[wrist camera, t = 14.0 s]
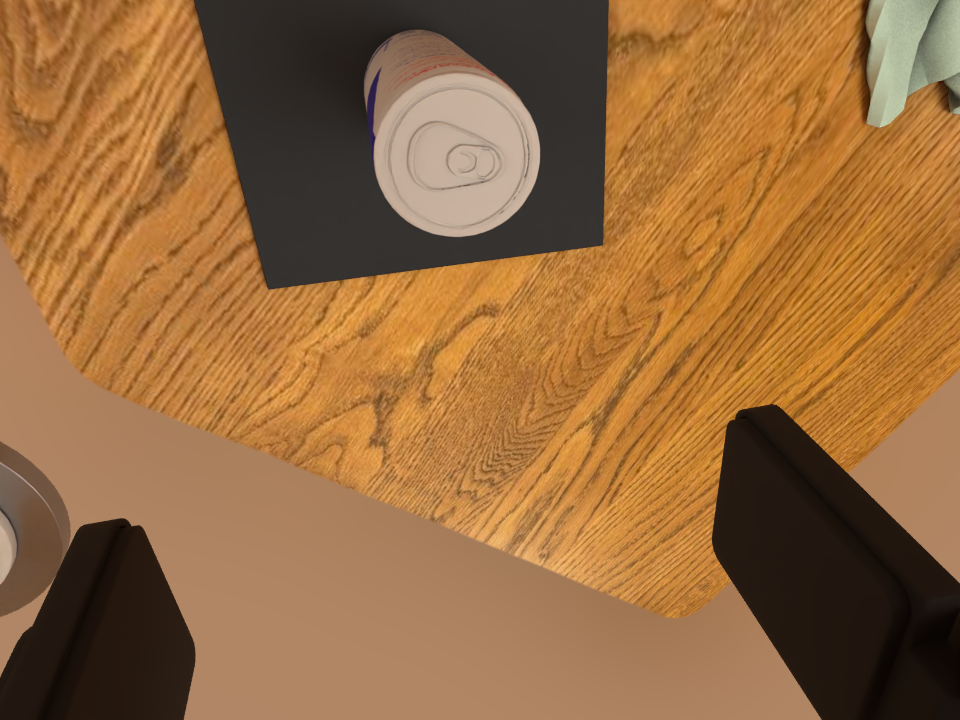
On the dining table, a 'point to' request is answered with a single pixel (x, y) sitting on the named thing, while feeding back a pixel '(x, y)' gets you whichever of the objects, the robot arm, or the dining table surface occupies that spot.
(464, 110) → the beverage can
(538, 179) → the mat
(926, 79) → the cloth
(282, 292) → the dining table surface
